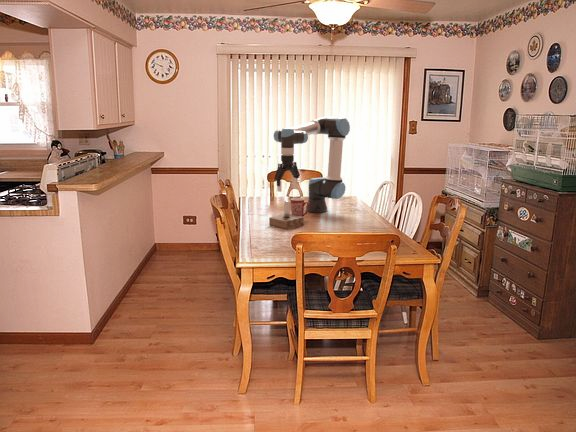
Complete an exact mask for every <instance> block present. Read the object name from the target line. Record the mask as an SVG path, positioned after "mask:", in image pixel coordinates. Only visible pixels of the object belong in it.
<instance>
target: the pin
mask: <svg viewBox="0 0 576 432" xmlns="http://www.w3.org/2000/svg"><path fill="white" fill-rule="evenodd" d="M283 208H284V209H283V214H284V218H290V214H291V213H290V212H291V211H290V210H291V200H284V201H283Z"/></svg>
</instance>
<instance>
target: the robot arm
mask: <svg viewBox="0 0 576 432" xmlns="http://www.w3.org/2000/svg"><path fill="white" fill-rule="evenodd" d="M350 131H351V125H350V121H348V119H347V118H346V117H341V116H324V117H319V118H317V119H313V120H310V122H307V123H304V124H300V125H297V126H292V127H288V128H287V127H284V128H282V129H279V130H278V129H276V130H274V133H273V139H274V141H275V142H276V143H280V145H281V146H280V149H281V150H280V152H281V153H280V161H281V163H278V164H277V168H276V169H277V170H276V172H275V175H274V177H273V180H275V181H276V187H277V190H276V191H277V192H280V193H281V192H282V190H283V189H282V178H283V176H284V174H285V173H286V172H287V171H289V172H290V173H291V175H292V189H295V190H298V189H297V188H298V185H297V184H298V179H299V178H300V175H301V174H300V171H299V168H298V165H297V164H298V163H297V162H296V161H294V159H295V158H294V157H295V155H294V154H295V153H294V151H295V145H298V144H299V145H300V144H305V143H307V142H308V141H309V140H308V139H309V136H311V135H315V136H316V135H327V138H328V139H329V150H328V164H327V165H328V166H327V176H326V177H313V178H310V179H309V180H308V198H307V199H308V200H307V202H309V204H310V209H309V211H308V212H309V213H318V214H319V213H320V214H321V213H326V212H328V206H327V203H326V198H327V199H332V200H339V199H341V198H342V197H343V196H344V194H345V192H346V184H345V183H344V182H343V178H342V177H341V174H342V173H341V172H342V158H343V146H344V145H343V144H344V140H345V139H346V137H347V136H348V135H349V134H350ZM308 208H309V205H308V204H307V203H306V206H305V211H306V212H307V210H308ZM308 212H307V213H308Z"/></svg>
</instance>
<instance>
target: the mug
mask: <svg viewBox="0 0 576 432" xmlns="http://www.w3.org/2000/svg"><path fill="white" fill-rule="evenodd" d="M307 204H308V205H309V208H308V210H307V211H306V212H305V213H304V210H305V205H307ZM309 209H310V204H309V202H308V201H305V198H303V197H293V198H290V210H291V211H290V212H291V213H290V214H292V215H296V216H301V217H304V218H305V216H306V215H307V214H308V211H309Z"/></svg>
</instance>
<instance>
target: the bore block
mask: <svg viewBox="0 0 576 432" xmlns="http://www.w3.org/2000/svg"><path fill="white" fill-rule="evenodd" d="M304 218H305V216H304V217H301V216H296V215H292V213H290V218H284V213H283V214H279V215H275V216H269V218H268V219H269V221H268V222H269V224H268V225H270V226H269V227H273V226H274V227H275V228H277V229H282V230H290V229H294V228H297V227H301V226H304V224H305V219H304ZM274 227H273V228H274Z"/></svg>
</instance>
